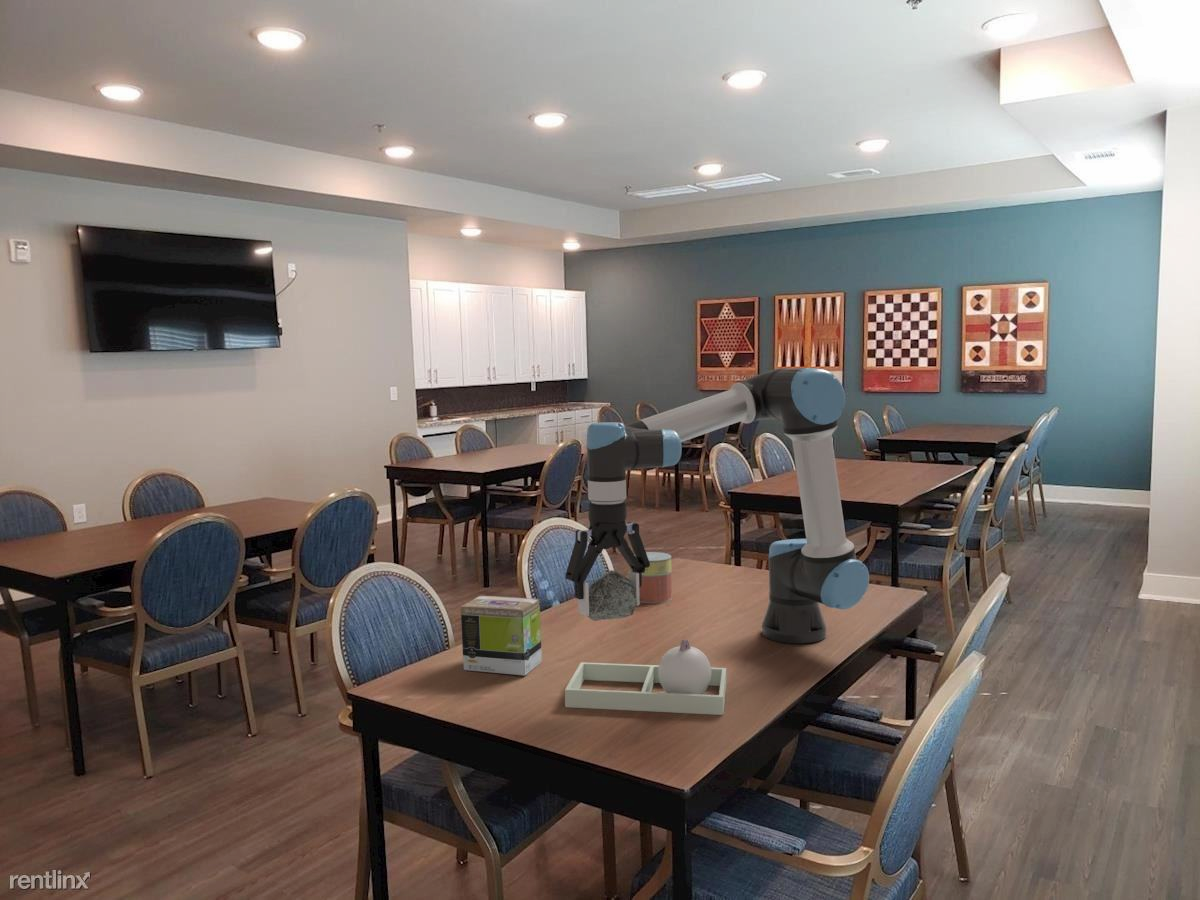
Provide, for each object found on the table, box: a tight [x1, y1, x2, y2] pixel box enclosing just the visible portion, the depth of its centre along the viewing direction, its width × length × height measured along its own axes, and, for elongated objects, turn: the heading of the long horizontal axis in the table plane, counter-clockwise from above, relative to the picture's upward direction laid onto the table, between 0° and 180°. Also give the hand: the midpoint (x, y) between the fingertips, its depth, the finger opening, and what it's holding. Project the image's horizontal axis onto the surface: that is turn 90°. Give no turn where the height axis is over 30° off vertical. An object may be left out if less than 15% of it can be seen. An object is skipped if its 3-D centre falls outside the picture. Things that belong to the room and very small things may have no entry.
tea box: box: [460, 595, 543, 677], centre depth 193 cm, size 15×10×15 cm, turn 71°
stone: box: [586, 570, 638, 622], centre depth 175 cm, size 10×10×10 cm
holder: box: [564, 661, 727, 716], centre depth 175 cm, size 30×16×4 cm, turn 80°
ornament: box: [658, 638, 712, 695], centre depth 173 cm, size 10×10×12 cm
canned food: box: [631, 551, 673, 604], centre depth 246 cm, size 11×11×12 cm
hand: (609, 609), depth 175 cm, fingers closed on stone, 12 cm apart
